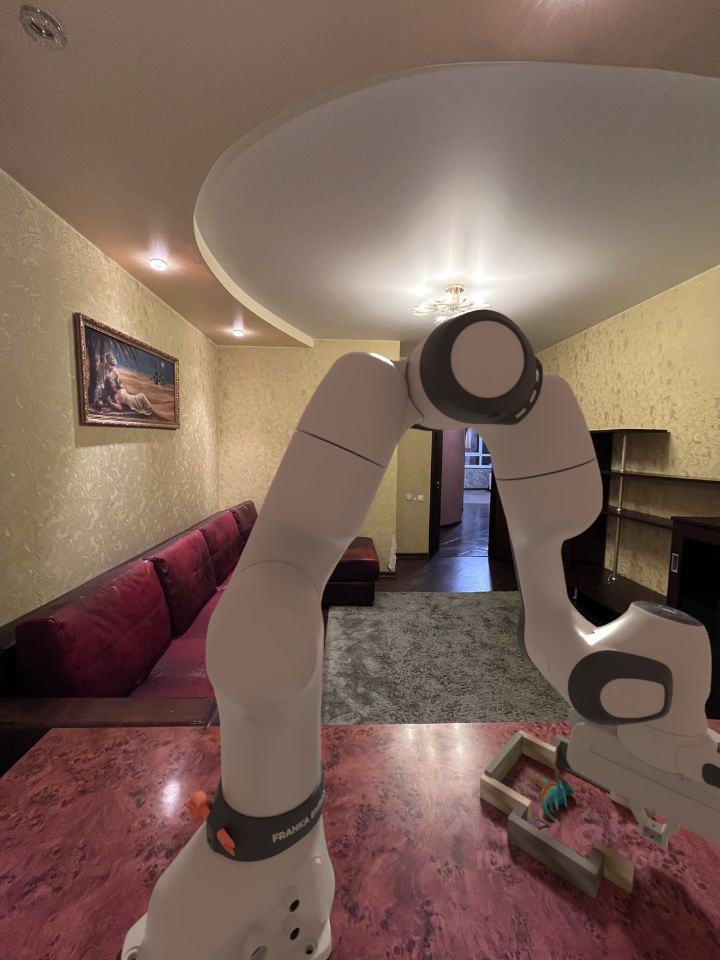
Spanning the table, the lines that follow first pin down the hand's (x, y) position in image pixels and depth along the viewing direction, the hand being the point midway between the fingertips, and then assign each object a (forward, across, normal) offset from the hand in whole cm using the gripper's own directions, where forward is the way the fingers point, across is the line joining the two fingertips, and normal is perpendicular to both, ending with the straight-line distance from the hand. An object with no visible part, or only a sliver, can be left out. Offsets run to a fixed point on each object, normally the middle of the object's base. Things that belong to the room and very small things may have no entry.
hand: (653, 838), depth 51 cm
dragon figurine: (+3, -12, -1) cm, 12 cm away
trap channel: (+2, -11, 0) cm, 11 cm away
